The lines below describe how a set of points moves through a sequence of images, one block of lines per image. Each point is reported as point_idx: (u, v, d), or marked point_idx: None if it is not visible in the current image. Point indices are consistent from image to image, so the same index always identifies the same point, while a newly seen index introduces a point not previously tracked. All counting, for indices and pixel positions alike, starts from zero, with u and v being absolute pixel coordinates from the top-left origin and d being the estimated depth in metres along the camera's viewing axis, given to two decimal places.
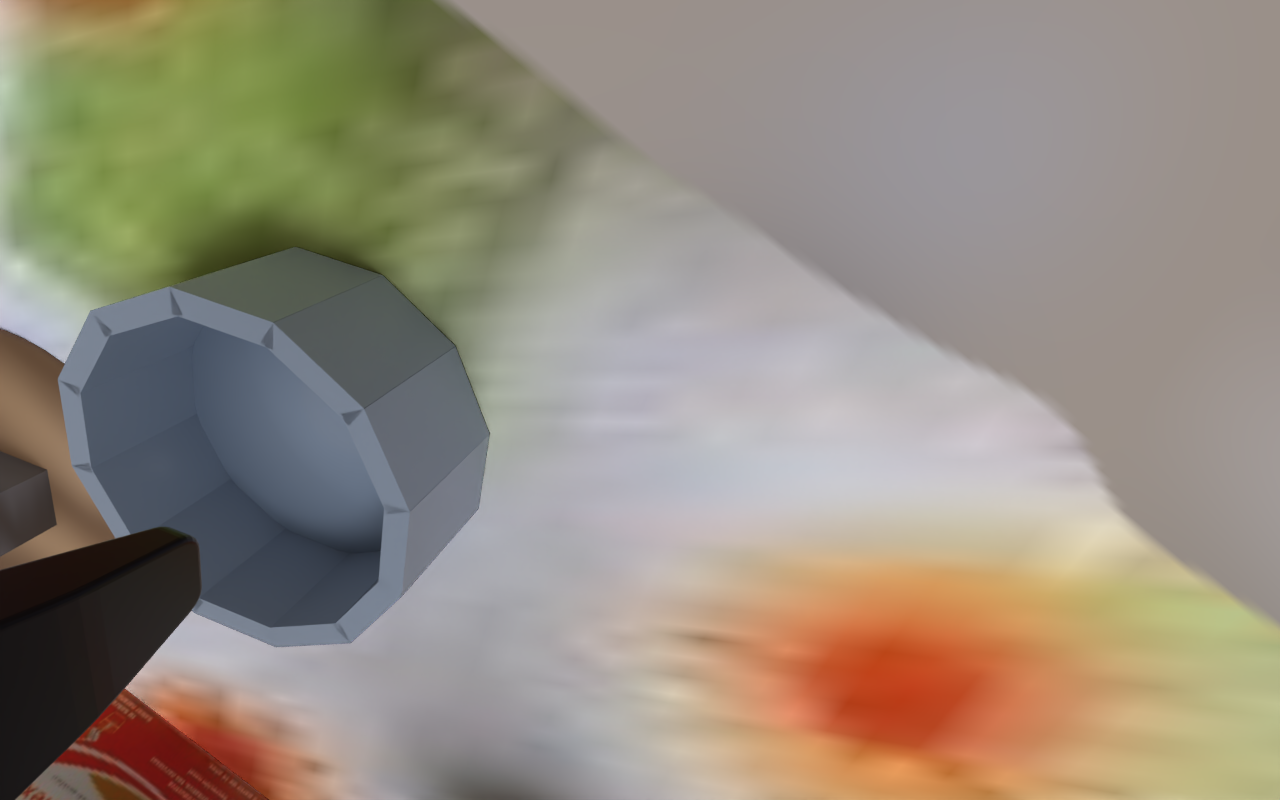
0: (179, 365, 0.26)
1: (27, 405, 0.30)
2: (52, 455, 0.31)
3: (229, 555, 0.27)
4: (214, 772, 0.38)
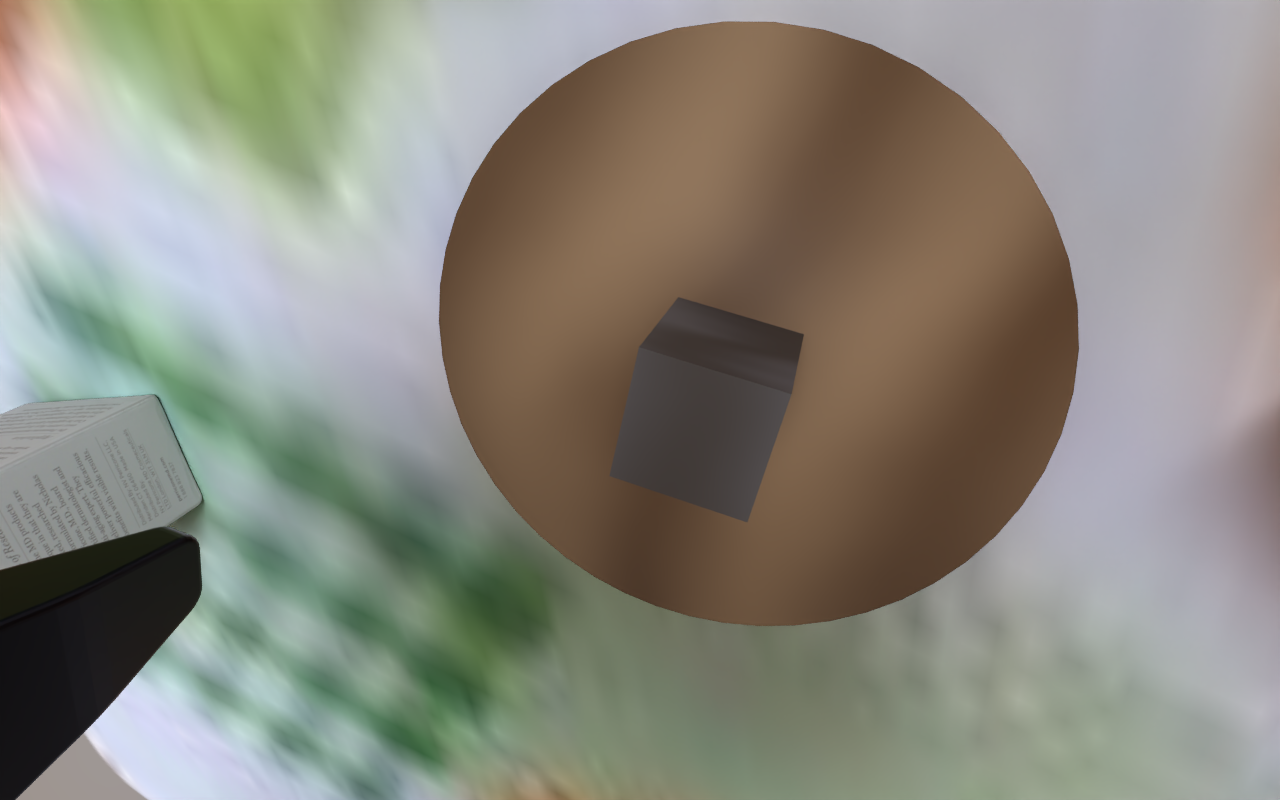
0: None
1: (554, 279, 0.18)
2: (644, 268, 0.17)
3: None
4: None
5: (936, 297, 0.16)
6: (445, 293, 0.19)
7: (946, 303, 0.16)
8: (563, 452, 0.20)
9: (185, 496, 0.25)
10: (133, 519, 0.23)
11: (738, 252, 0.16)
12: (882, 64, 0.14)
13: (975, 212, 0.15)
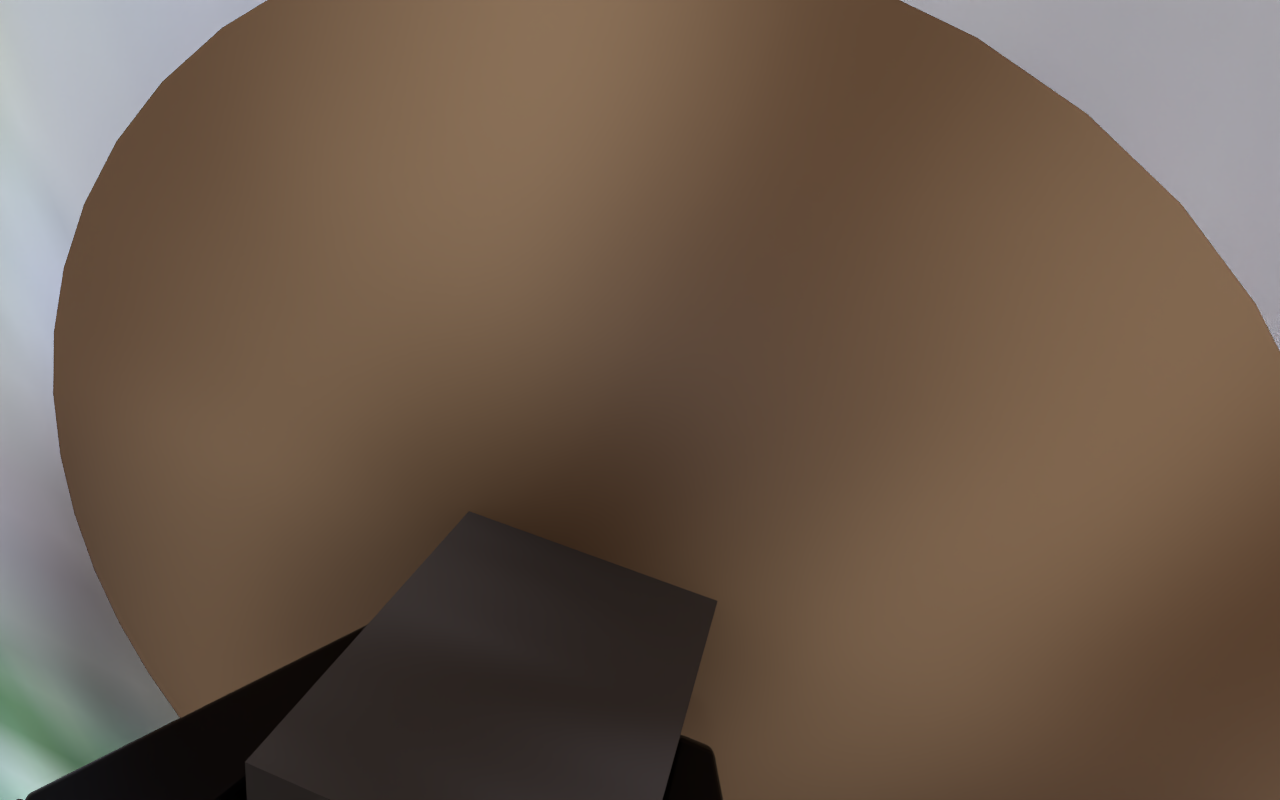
0: None
1: (243, 460, 0.09)
2: (399, 454, 0.08)
3: None
4: None
5: (1001, 559, 0.07)
6: (72, 468, 0.10)
7: (1024, 574, 0.07)
8: None
9: None
10: None
11: (574, 438, 0.08)
12: (880, 30, 0.06)
13: (1105, 392, 0.06)
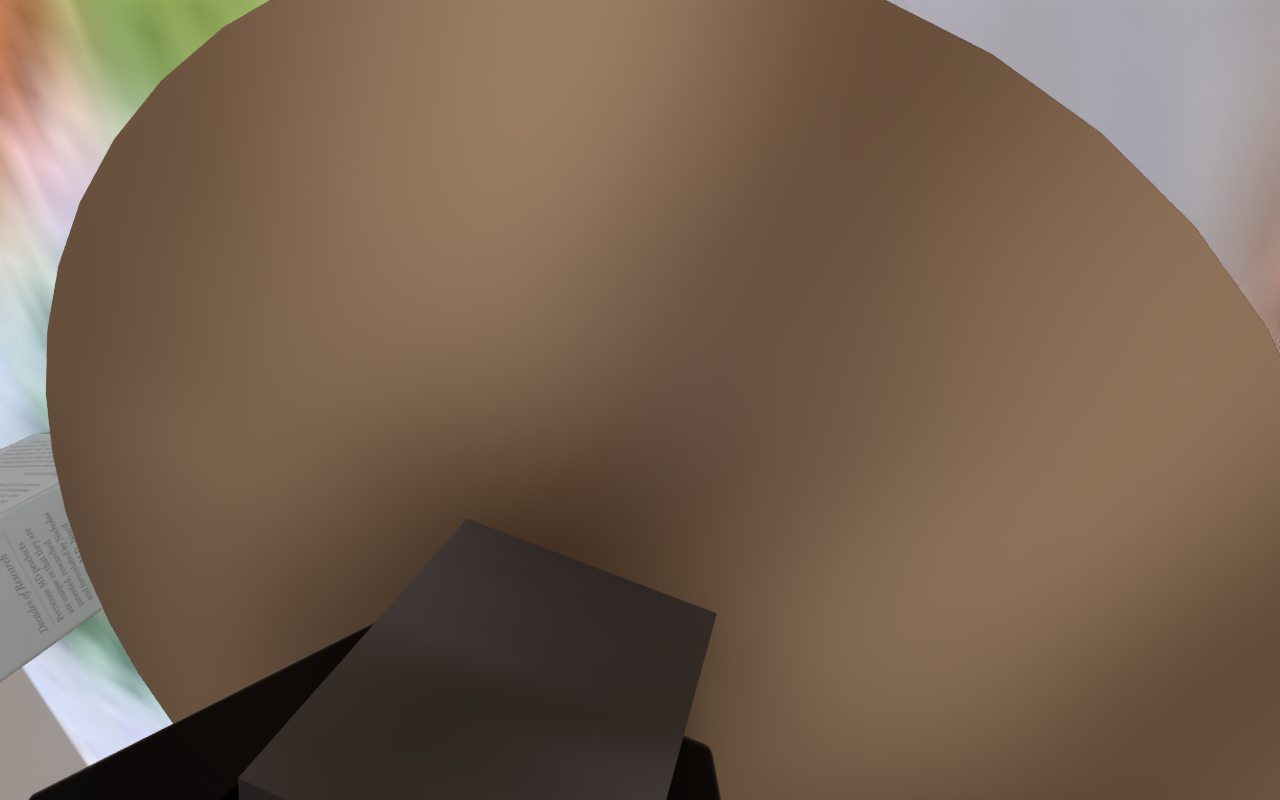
0: None
1: (238, 463, 0.09)
2: (397, 460, 0.08)
3: None
4: None
5: (1004, 577, 0.07)
6: (64, 467, 0.10)
7: (1027, 593, 0.07)
8: None
9: None
10: None
11: (575, 448, 0.08)
12: (894, 43, 0.05)
13: (1113, 413, 0.06)
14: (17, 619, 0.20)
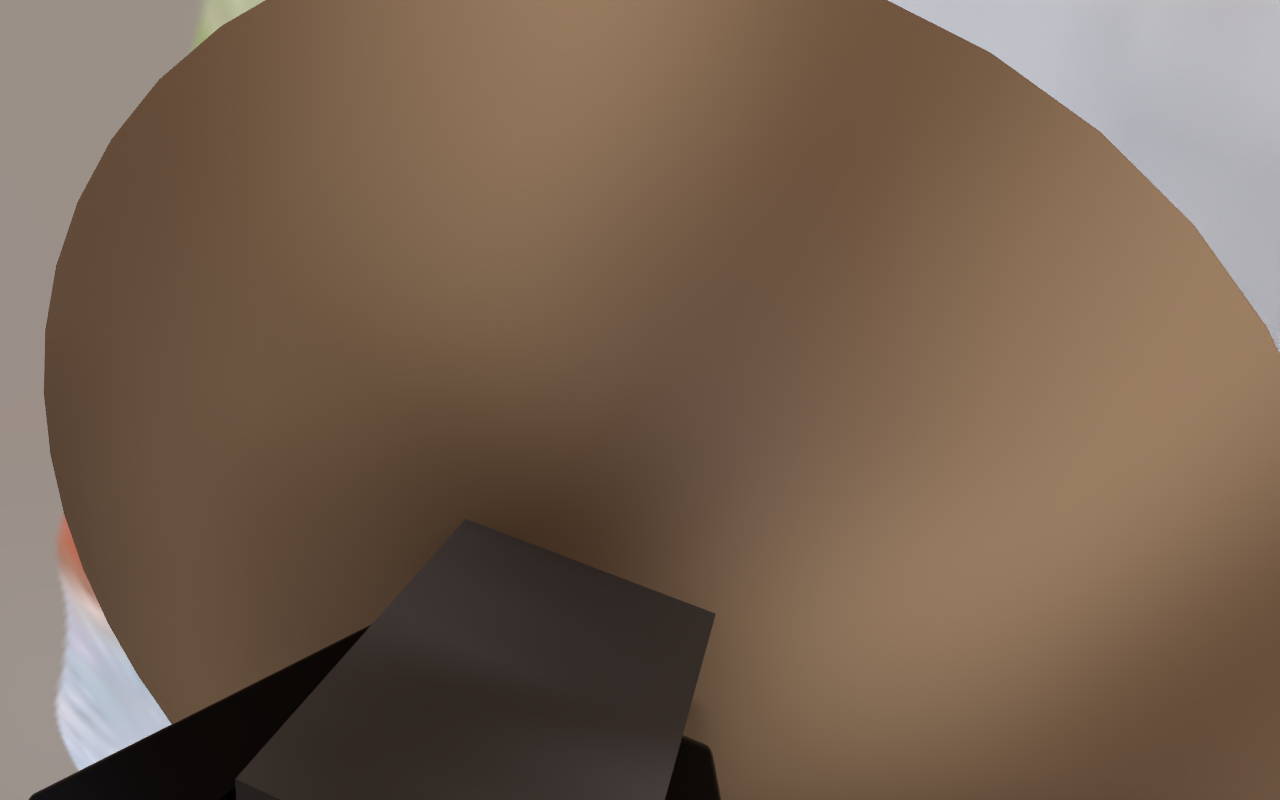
0: None
1: (236, 463, 0.09)
2: (395, 460, 0.08)
3: None
4: None
5: (1003, 579, 0.07)
6: (62, 467, 0.10)
7: (1026, 593, 0.07)
8: None
9: None
10: None
11: (574, 448, 0.08)
12: (892, 43, 0.05)
13: (1112, 413, 0.06)
14: None
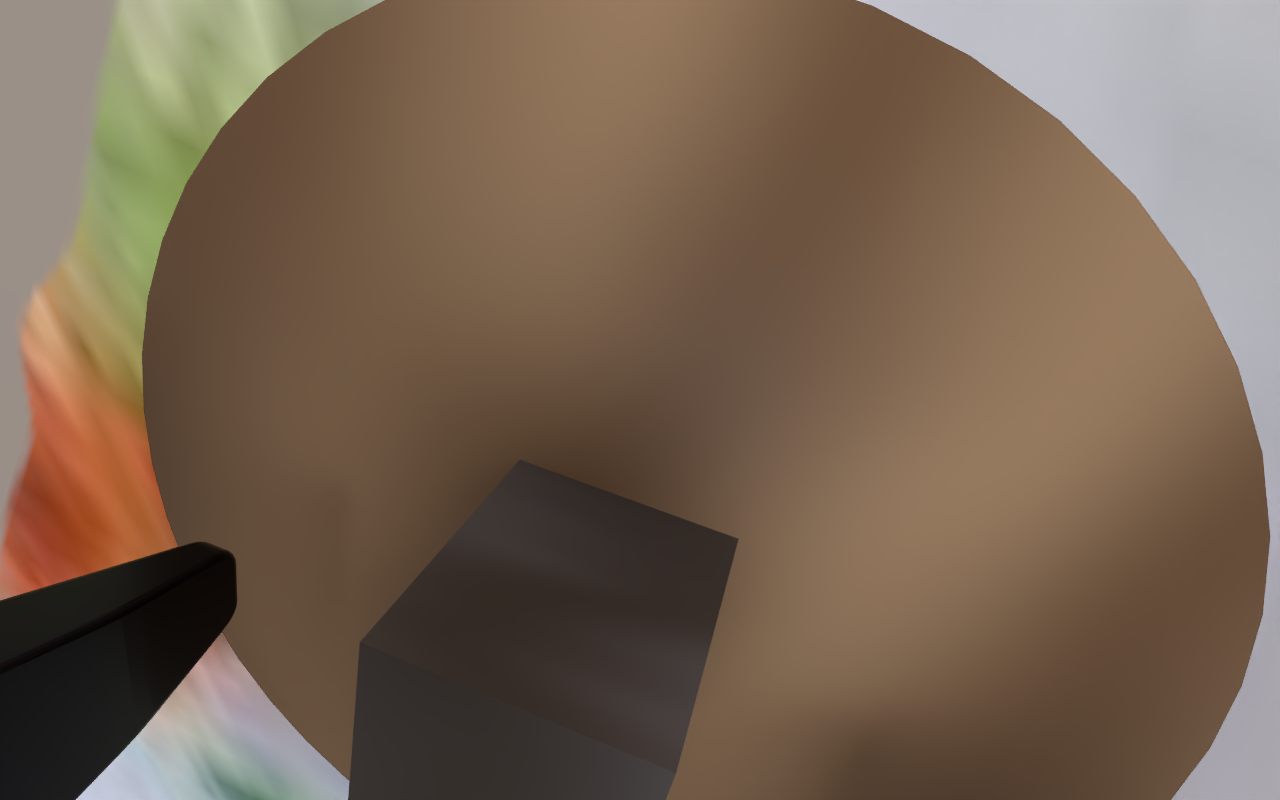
0: None
1: (315, 414, 0.10)
2: (459, 408, 0.10)
3: None
4: None
5: (984, 500, 0.08)
6: (154, 422, 0.11)
7: (1004, 511, 0.08)
8: None
9: None
10: None
11: (618, 393, 0.09)
12: (891, 48, 0.07)
13: (1073, 353, 0.07)
14: None
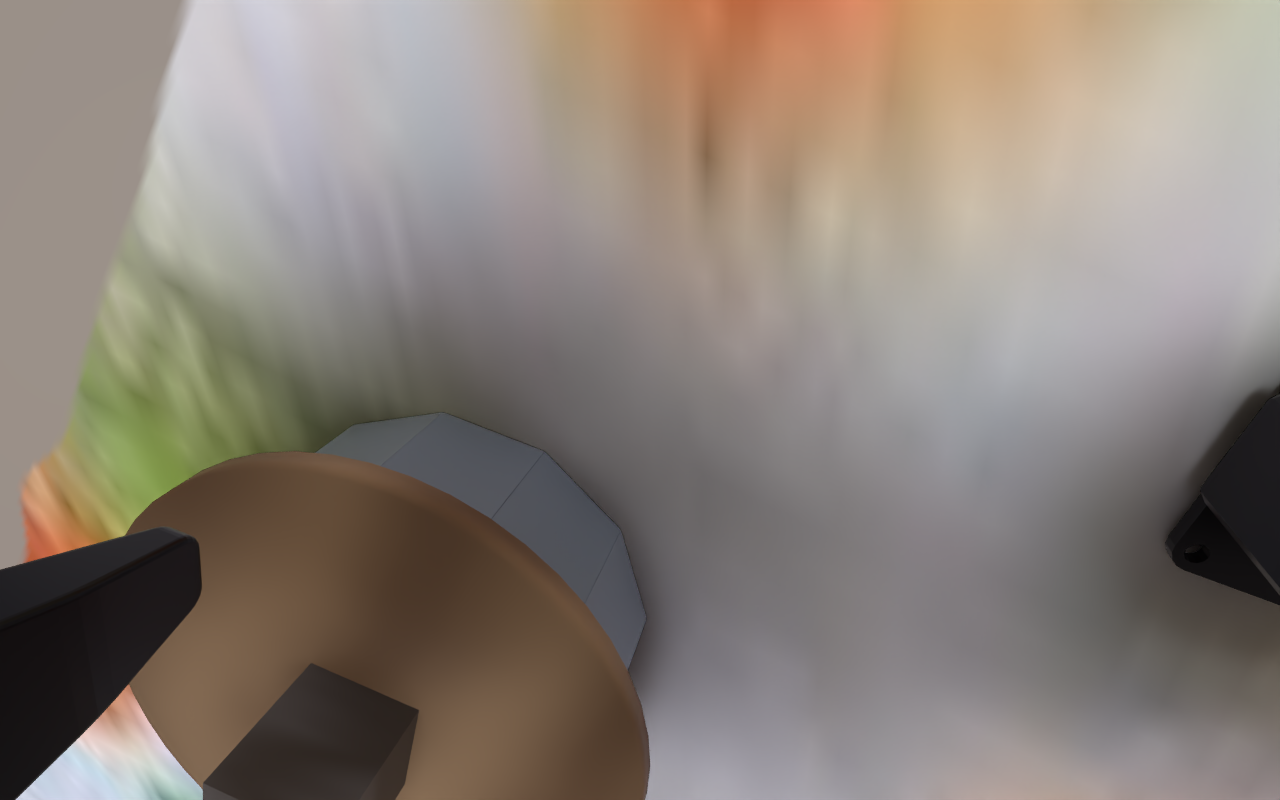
0: None
1: (205, 629, 0.19)
2: (279, 636, 0.18)
3: None
4: None
5: (520, 704, 0.17)
6: None
7: (529, 710, 0.17)
8: None
9: None
10: None
11: (353, 640, 0.18)
12: (443, 530, 0.16)
13: (538, 651, 0.16)
14: None
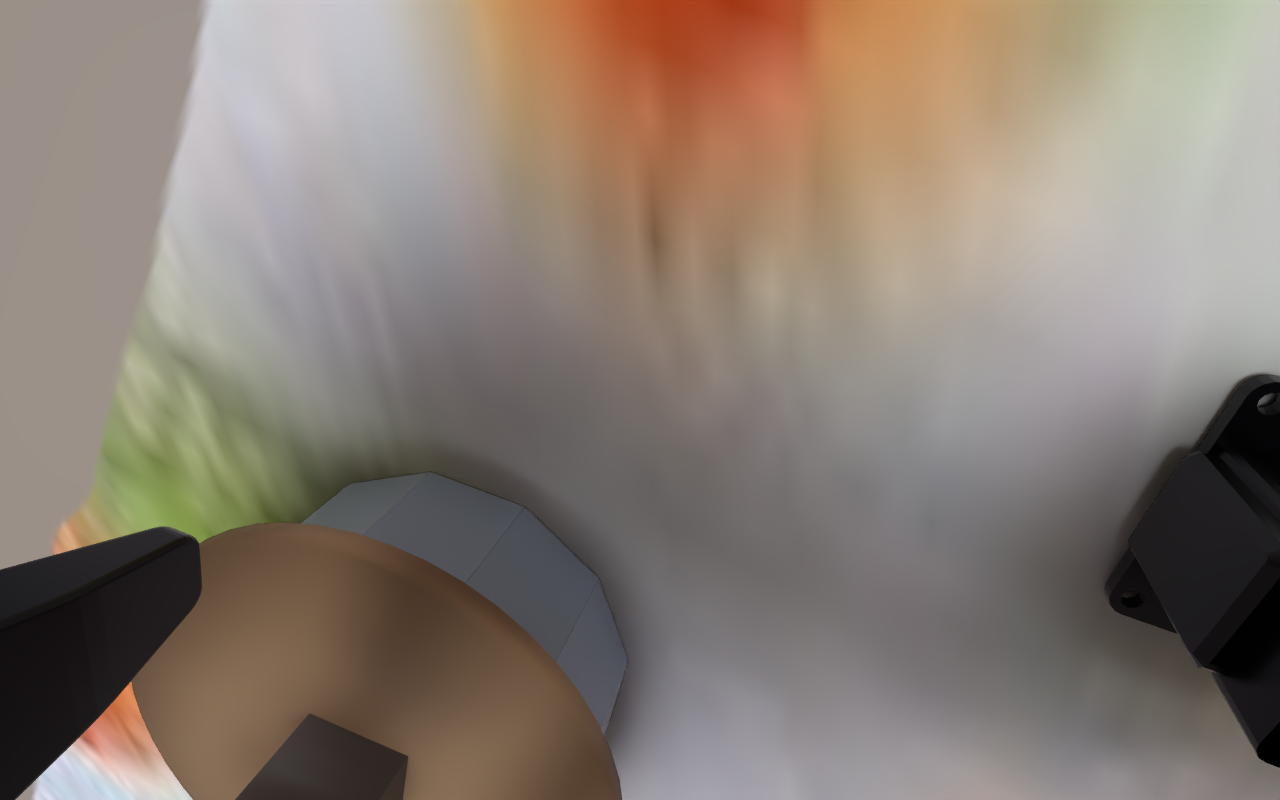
0: None
1: (213, 682, 0.21)
2: (279, 689, 0.20)
3: None
4: None
5: (498, 751, 0.18)
6: None
7: (506, 757, 0.18)
8: None
9: None
10: None
11: (346, 693, 0.19)
12: (419, 595, 0.17)
13: (511, 703, 0.18)
14: None
